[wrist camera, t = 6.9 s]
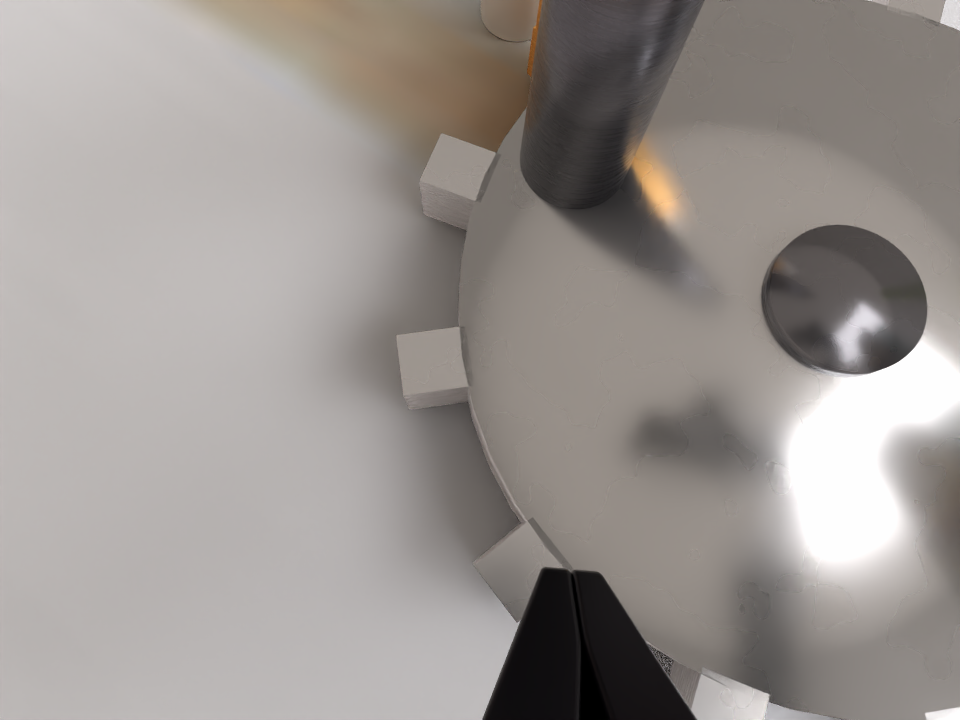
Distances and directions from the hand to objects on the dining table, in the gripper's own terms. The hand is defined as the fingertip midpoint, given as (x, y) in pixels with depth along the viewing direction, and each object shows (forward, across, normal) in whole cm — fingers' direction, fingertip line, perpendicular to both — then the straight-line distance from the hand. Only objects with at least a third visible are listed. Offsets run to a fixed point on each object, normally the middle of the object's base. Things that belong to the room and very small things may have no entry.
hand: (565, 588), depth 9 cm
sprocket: (+12, -8, +1) cm, 14 cm away
